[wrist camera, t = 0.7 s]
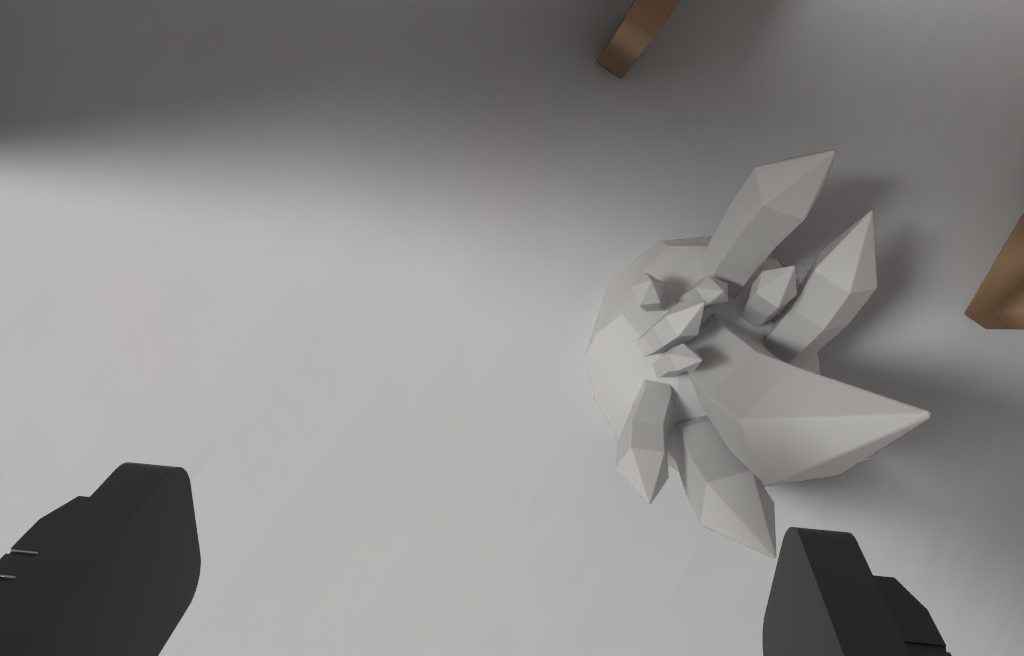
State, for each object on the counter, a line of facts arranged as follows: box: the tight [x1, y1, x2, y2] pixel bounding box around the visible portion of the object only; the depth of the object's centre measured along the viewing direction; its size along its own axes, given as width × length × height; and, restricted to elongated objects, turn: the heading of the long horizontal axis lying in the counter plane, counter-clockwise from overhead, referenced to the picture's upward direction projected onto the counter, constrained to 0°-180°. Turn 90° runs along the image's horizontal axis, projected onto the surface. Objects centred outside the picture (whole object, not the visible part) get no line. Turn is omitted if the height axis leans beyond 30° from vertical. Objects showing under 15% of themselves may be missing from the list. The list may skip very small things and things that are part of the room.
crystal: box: [585, 150, 931, 558], centre depth 26 cm, size 10×13×15 cm
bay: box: [597, 0, 1024, 329], centre depth 32 cm, size 17×20×5 cm
